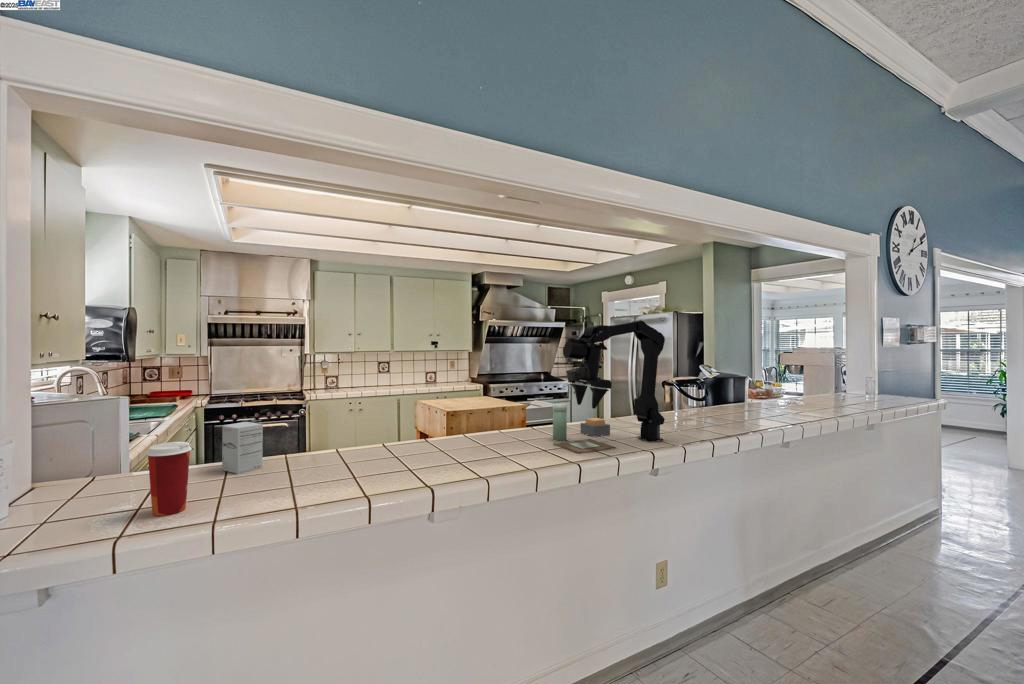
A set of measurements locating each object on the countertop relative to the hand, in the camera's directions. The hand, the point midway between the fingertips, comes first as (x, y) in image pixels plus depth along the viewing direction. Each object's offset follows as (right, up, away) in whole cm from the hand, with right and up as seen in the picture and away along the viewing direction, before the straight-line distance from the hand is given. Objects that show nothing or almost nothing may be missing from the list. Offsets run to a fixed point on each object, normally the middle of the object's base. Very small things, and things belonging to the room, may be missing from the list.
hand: (586, 406), depth 154 cm
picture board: (-1, -14, +1) cm, 14 cm away
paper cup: (-98, -14, -59) cm, 115 cm away
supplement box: (-101, -14, -28) cm, 106 cm away
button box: (+7, -14, +20) cm, 26 cm away
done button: (+7, -10, +20) cm, 24 cm away
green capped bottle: (-8, -14, +10) cm, 19 cm away
